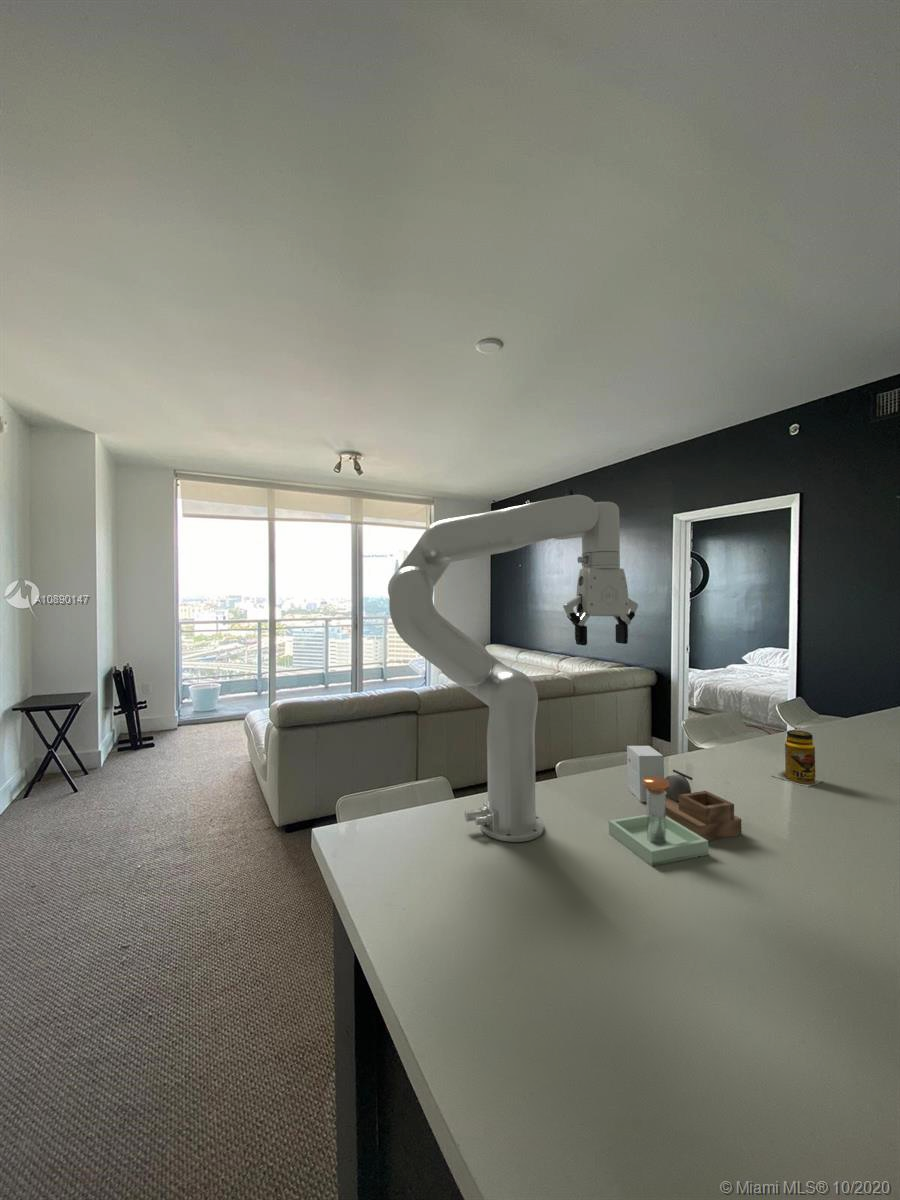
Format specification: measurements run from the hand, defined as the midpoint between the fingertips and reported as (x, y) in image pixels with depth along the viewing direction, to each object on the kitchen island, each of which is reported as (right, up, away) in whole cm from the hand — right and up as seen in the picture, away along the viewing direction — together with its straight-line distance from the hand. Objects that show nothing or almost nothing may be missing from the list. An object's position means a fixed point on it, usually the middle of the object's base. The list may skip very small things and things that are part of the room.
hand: (601, 644), depth 98 cm
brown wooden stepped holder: (+18, -36, -2) cm, 40 cm away
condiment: (+56, -36, +20) cm, 70 cm away
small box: (+14, -37, +11) cm, 41 cm away
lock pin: (+7, -36, -11) cm, 38 cm away
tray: (+7, -36, -11) cm, 38 cm away
